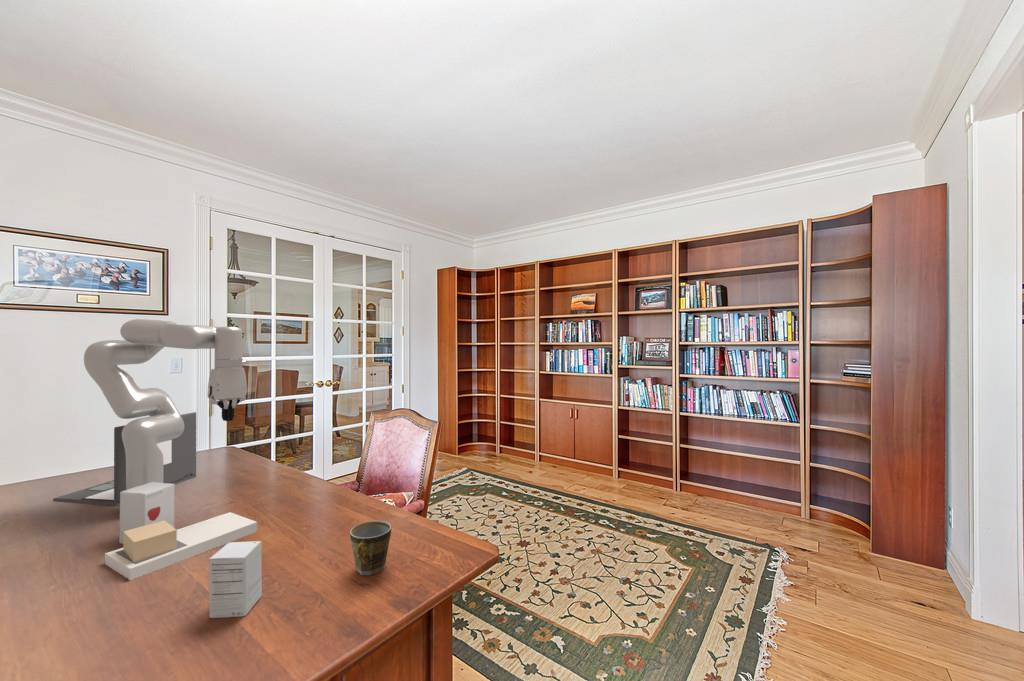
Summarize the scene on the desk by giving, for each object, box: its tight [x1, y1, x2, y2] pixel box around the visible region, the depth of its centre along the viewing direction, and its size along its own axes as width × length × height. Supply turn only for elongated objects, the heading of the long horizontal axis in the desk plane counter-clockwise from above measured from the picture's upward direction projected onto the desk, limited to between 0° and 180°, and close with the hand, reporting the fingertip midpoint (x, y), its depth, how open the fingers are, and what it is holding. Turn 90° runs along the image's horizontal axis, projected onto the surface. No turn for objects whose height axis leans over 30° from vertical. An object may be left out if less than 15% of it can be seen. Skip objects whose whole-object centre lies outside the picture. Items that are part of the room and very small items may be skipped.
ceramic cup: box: [349, 520, 392, 576], centre depth 106 cm, size 13×10×10 cm
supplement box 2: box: [208, 540, 263, 619], centre depth 91 cm, size 7×7×13 cm
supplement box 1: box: [119, 482, 176, 545], centre depth 123 cm, size 9×9×15 cm
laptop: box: [52, 411, 197, 507], centre depth 163 cm, size 32×26×28 cm
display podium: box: [104, 511, 258, 581], centre depth 118 cm, size 15×30×3 cm, turn 151°
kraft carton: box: [122, 520, 178, 563], centre depth 110 cm, size 10×8×5 cm
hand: (227, 420), depth 138 cm, fingers closed
